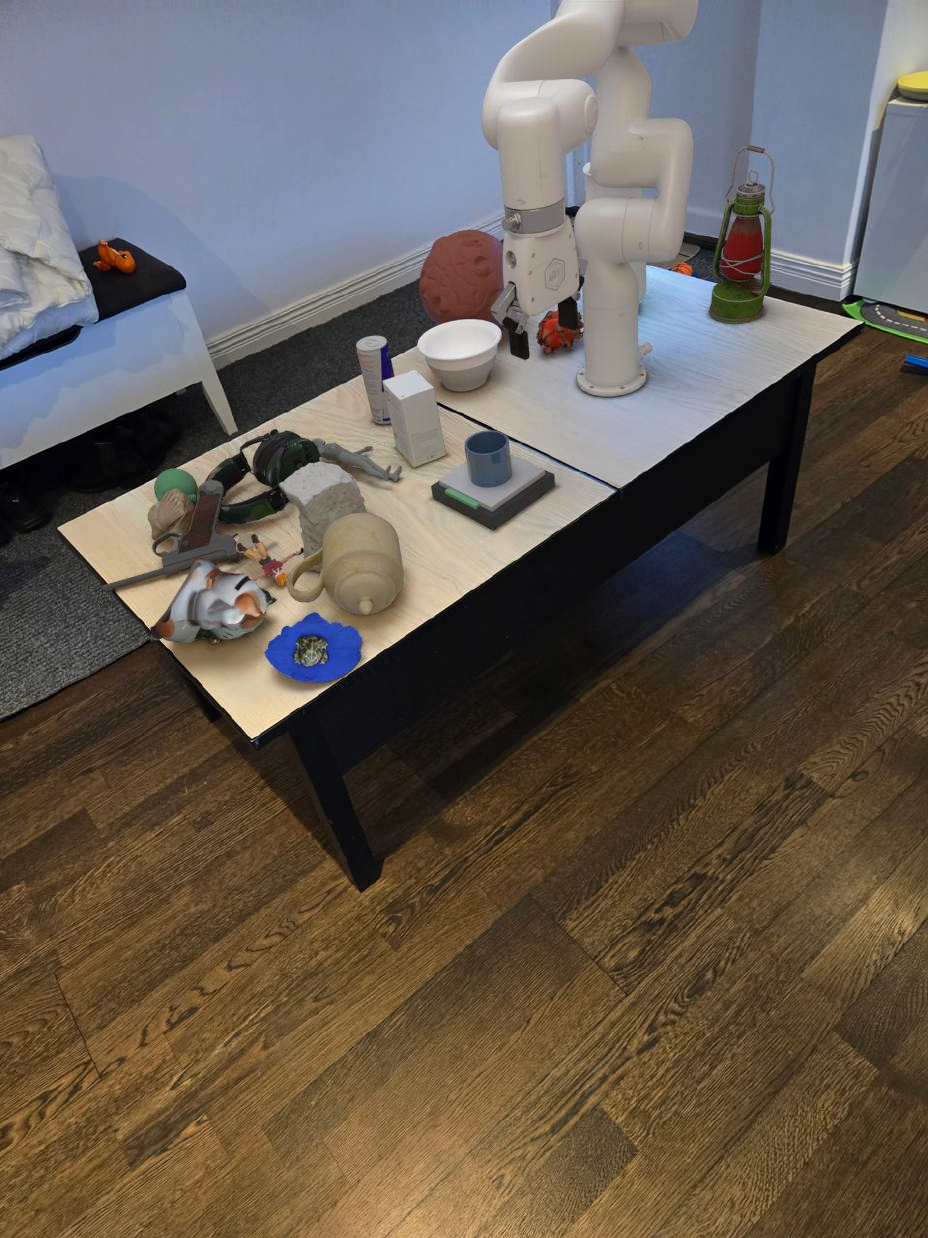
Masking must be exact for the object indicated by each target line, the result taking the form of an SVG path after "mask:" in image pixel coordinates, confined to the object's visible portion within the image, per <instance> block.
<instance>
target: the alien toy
mask: <svg viewBox="0 0 928 1238" xmlns="http://www.w3.org/2000/svg"><path fill="white" fill-rule="evenodd" d="M177 488H178V489H180V490H182V491H183V493H185V494H186V495H187V497H188V499H189V500H190V501H191V502H192V503H193V504H195V503H197V500H198V497H197V490H198V488H199V486H198V484H197V480H196V479H195V478H194V476H193V475H192V474H190V473H189V472H188V471H186V470H184V469H183V468H182V469H181V468H169V469H166V470H164V471H162V472H161V473H160V474H159V475H158V476H157V477H156V480H155V481H154V487H153V489H154V491H153V492H154V495H155V499H156V500H157V501H156V502H159V501H161V499H162V497H163V495H164V494H165V493H166V492H167V491H170V490H171V489H177Z"/></svg>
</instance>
